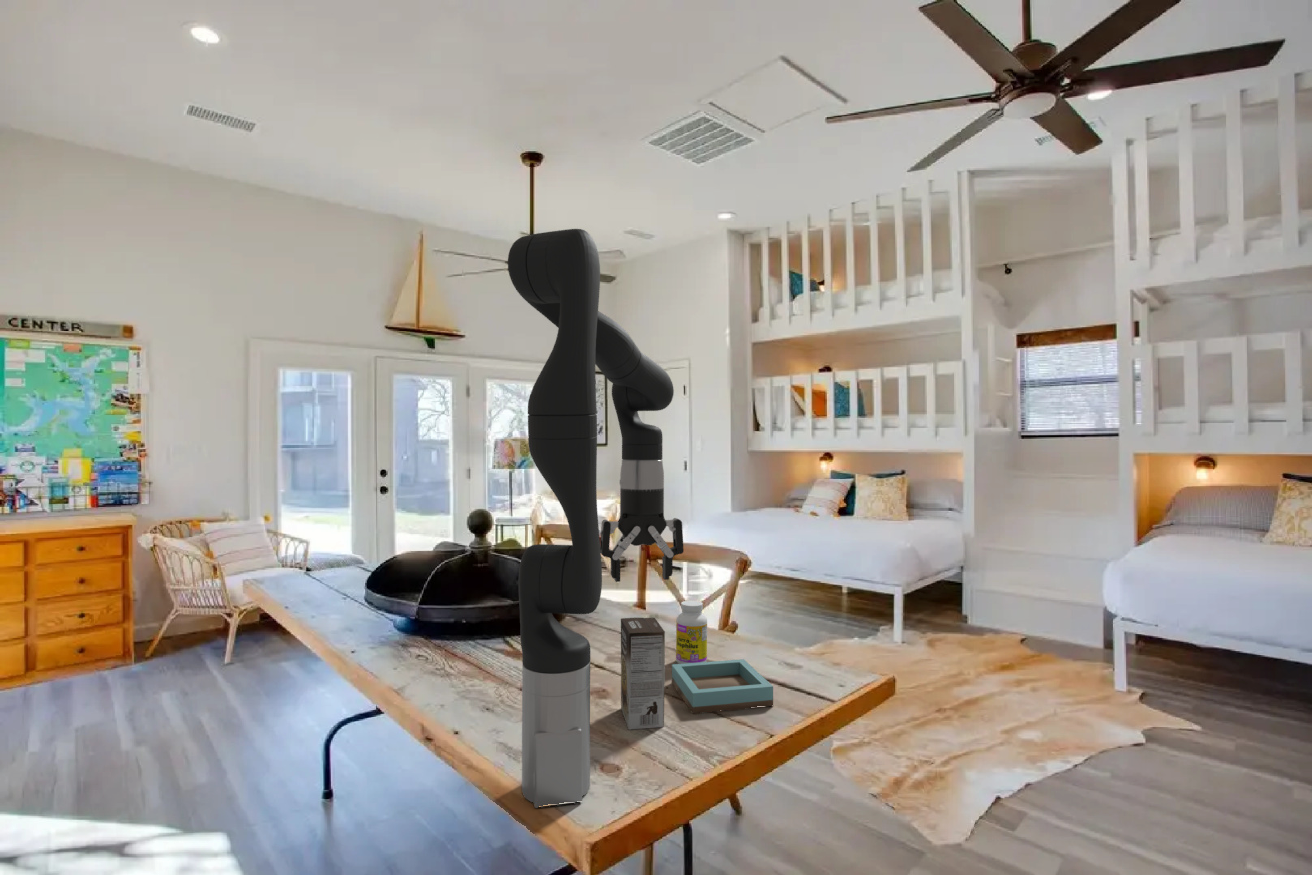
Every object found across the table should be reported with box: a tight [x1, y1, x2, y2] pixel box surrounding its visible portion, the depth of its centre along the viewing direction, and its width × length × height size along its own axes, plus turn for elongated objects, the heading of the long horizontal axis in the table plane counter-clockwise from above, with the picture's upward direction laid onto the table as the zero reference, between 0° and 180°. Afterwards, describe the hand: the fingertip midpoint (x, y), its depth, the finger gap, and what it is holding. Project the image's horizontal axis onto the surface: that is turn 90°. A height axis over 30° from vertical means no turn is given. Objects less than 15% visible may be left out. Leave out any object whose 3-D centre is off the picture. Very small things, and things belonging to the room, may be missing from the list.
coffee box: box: [620, 616, 666, 730], centre depth 112 cm, size 9×6×16 cm
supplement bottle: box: [675, 600, 708, 664], centre depth 140 cm, size 7×7×13 cm
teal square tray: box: [671, 658, 774, 715], centre depth 122 cm, size 15×15×4 cm
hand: (641, 579), depth 112 cm, fingers open, 8 cm apart
